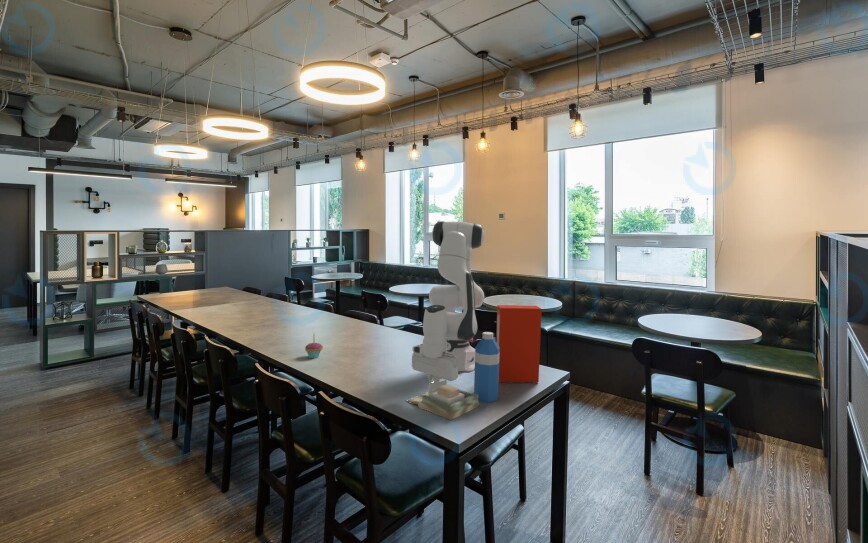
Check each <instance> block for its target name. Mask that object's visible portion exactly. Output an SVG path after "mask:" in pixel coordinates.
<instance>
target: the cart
mask: <svg viewBox="0 0 868 543" xmlns="http://www.w3.org/2000/svg"><path fill="white" fill-rule="evenodd" d="M447 382H448V380H445V379H442V378H441V379H440V380H439V381H436V382H433V383H430V382H429V383H428V391H427V392H428V396H429V397H432V398H435V399H437V400H440V401H443V402H446V403H449V404H450V405H451V404H454V403H456V402H458V401H460V400H462V399H464V394H462V393H459V390H460V388H458V387H454V386H452V385H449V384H447Z"/></svg>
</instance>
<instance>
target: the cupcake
mask: <svg viewBox="0 0 868 543" xmlns="http://www.w3.org/2000/svg"><path fill="white" fill-rule="evenodd" d="M315 335H316V334H315V333H313V335H312V336H313V337H312V338H313V339H312V342H309V343H307V345H306V346H305V347H304V348H305V349H304V350H305V351H306V353H307V355H308V358H309V359H316V358H319V357H320V354H321V352H322V351H323V350H324V348H323V345H322V343H318V342H316V341H315V340H316V336H315Z"/></svg>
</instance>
